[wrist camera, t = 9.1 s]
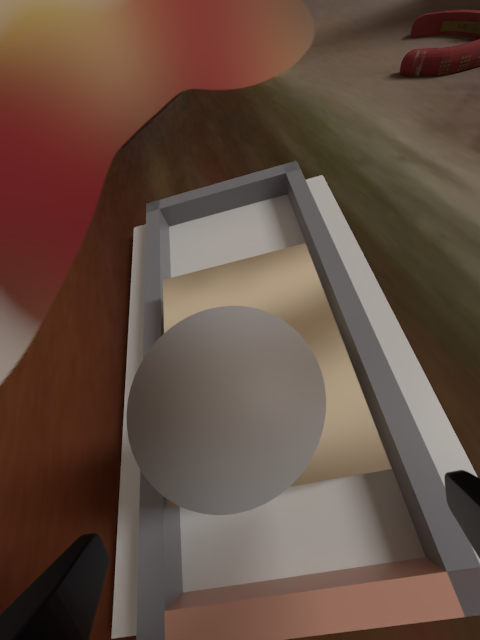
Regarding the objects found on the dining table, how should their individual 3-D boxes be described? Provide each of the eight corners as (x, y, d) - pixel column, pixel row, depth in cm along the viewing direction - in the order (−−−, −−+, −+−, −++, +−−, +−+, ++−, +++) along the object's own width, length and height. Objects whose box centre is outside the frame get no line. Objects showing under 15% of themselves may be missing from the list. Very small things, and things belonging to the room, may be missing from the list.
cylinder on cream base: (371, 469, 14) (531, 463, 4) (195, 500, 14) (-11, 556, 5) (305, 278, 20) (307, 96, 10) (183, 308, 20) (80, 166, 11)
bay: (515, 574, 12) (574, 603, 9) (123, 628, 14) (81, 664, 11) (321, 185, 26) (323, 152, 23) (139, 235, 27) (122, 210, 25)
